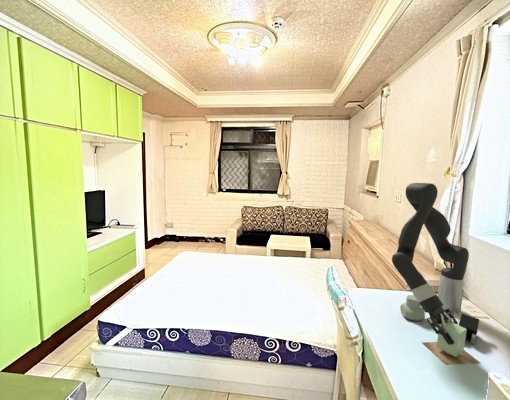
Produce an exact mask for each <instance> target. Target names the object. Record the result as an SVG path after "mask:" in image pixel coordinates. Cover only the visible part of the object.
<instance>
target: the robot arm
mask: <svg viewBox="0 0 510 400" xmlns="http://www.w3.org/2000/svg"><path fill="white" fill-rule="evenodd" d="M438 194H439V193H438V187H437V186H436V184H434V183H430V182H429V183H428V182H413V183H409V184H408V185H407V186H406V187H405V197H406V200H407V201H408V202H409V204H410V205H411V207H412V208H413V209H414V211H415V213H414V214H413V215H412V216H411V218H409V219H408V220H407V222H405V224H404V225H403V227H401V231H400V235H399V236H398V237H399V238H398V241H397V243H398V247H397V250H396V252H395V253H394V254H393V255H392V257H391V262H392V265H393V267H394V269H396V271H397V272H398V273H399V275H400V276H401V277H402V278H403V280H404V282H405V283H406V285H407V286H408V288H409V290H410V291H411V293H412V295H414V297H415V298H416V300H417V301H418V303H419V304H420V307H421V308H422V309H423V310H424V313H425V314H426V313H428V315H429V317H427V318H426V317H425V319H426V322H427V323H428V324H429V325H430V327H431V328H432V330H433V331H434V332H435V334H436V335H438V334H441V335H442V336H443V337H444V339H445V341H446V342H447V343H448V344H449V345H452V344H454V341H453V340H452V338H451V337H450V335H449V334H448V333H447V330H446V329H445V327H446V324H445V323H446V322H451V323H452V322H453V323H455V324H457V325H459V321H457V319H456V317H455V316H454V314H456V313H459V312H461V311H462V303H463V297H464V294H463V292H462V290H463V289H462V288H463V284H464V278H465V274H466V271H467V266H468V262H469V256H470V255H469V254H470V253H469V250H468V248H466V247H463V246H460V245H455V244H452V243H451V242H450V241H449V240H448V237H449V235H450V233H451V231H452V230H451V225H450V223H449V221H448V219H447V218H446V216H445V215H444V214H443V213H441V212H440V211H439V210H438V209H436V207H434V205H435V203H436V200H437V198H438ZM423 227H425V229H426V230H427V232H428V234H429V236H430V238H431V239H432V241H433V243H434V245H435V248H436V250H437V253H438V256H439V257H440V259H441V260H442V261H444V262H447V263H450V264H452V267H443V268H442V269H441V270H440V271H441V272H440V278H439V283H438V292H437V293H438V294H437V293H436V292H435V291H434V289H433V287H431V285H430V284H429V283H428V281H427V280H426V279H425V277H424V276H423V275H422V273H421V272H419V270H418V269H417V268H416V266H415V264H414V263H413V261H414V255H415V250H416V247H417V244H418V241H419V238H420V234H421V232H422V229H423ZM441 327H442V328H443V330H442V328H441Z"/></svg>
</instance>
